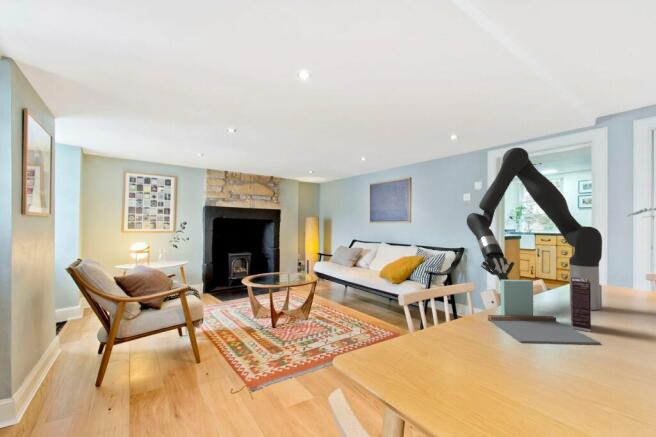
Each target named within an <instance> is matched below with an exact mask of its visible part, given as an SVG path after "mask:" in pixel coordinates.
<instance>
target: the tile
mask: <svg viewBox="0 0 656 437" xmlns="http://www.w3.org/2000/svg"><path fill="white" fill-rule="evenodd" d="M499 282H500V315H522V316H534V281H533V280H530V279H509V280H499Z"/></svg>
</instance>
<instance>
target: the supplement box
mask: <svg viewBox="0 0 656 437" xmlns="http://www.w3.org/2000/svg"><path fill="white" fill-rule="evenodd" d="M591 313H592V310H591V283H590V282H589V280H588V279H586V278H575V277H571V305H570V324H571V329H573V330H576V331H583V332H589V333H590V332H592V330H591V329H592V323H591V322H592V319H591V318H592V317H591V316H592V314H591Z"/></svg>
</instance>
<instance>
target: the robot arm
mask: <svg viewBox="0 0 656 437" xmlns="http://www.w3.org/2000/svg"><path fill="white" fill-rule="evenodd" d="M529 156H530V155H529V153H528V152H527V150H525V148H522V147H512V148H510V149H507V150H506V152H504V154H503V156H502V163H501V166H500V169H499V171H498V173H497V175H496V177H495V178H494V180H493V181H492V183H491V185H490V186H489V187H488V189H487V191H486V192H485V194H484V195H483V197H482V199H481V200H480V203H479V204H478V207H479V208H480V210H482V211H483V214H480V213H476V212H472V213H469V214H468V215H467V217H466V225H467V227H468V229H469V230H470V232H471V233H472V234H473V235H474V236H475V237H476V240H477V242H478V246H479V249H480V252H481V254H482V257H483V259H484V261H482V263H481V264H480V267H481V268H482V269H484V270H485V271H486V272H488V273H489V274H490V275H492V276H496V277H497V278H498V280H499V281H500V280H510V279H509V277H508V276H509V274H510V273H511V271H512V270H513V267H514V266H515V262H514V261H511V262H510V261H508V259H507V258H506V257H505V255H504V254H505V253H504V251H503V250H502V248H501V247H502V246H500V243H499V241H498V239H496V236H495V235H494V232H493V230H492V229H491V228H490V227H491V226H492V223H493V220H494V219H493V218H494V215H495V213H496V210H497V208H498V206H499V204H500V202H501V201H502V199H503V198H504V195H505V194H506V192H507V190H508V188H509V186H510V185H511V183H512V181H514V179H515V178H516V177H517V178H518V179H519V181H520V182H521V183H522V185H523V186H524V188H525V190H526V192H527V193H528V194H529V196H530V197H531V198H532V200H533V201H534V202H535V203H536V205H537V206H539V208H540V209H541V210H542V212H543V213H544V214H545V215H546V216H547V217H548V218H549V220H551V222H552V223H553V224H554V225H555V226H556V228H557V230H558V232H560V234H561V235H562V237H563V238H564V240H565V242H566V243H567V244H568V245H569V246H570V247H571V246H572V247H573V248H574V252H573V255H572V256H571V257H569V258H568V259H569V262H568V264H569V265H568V266H569V270H568V271H569V305H570V306H571V277H575V278H586V279H588V280H589V282H590V283H591V311H599V310H600V309H603V304H602V303H603V301H602V300H603V298H602V295H603V294H602V292H603V291H602V290H603V289H602V287H603V286H602V285H601V283H600V262H601V260H602V254H603V237H602V234H601V232H600V230H598V229H597V228H596V227H593V226H583V225H581V224H580V223H579V222H578V221H577V219H576V218H574V216H573V215H572V213H571V211H570V209H569V206H568V203H567V200H566V198H565V196H564V195H563V194H562V193H561V190H559V189H558V188H557V186H556V185H555V184H554V183H553V182H552V181H551V180H550V179H548V178H547V177H546V176H545V175H544V174H542V173H541V172H540V171H539V170H538V169H537V168H536V167H535V165H534V164H533V163H532V161H531V159H529ZM506 267H507V269H506Z"/></svg>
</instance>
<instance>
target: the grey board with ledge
mask: <svg viewBox="0 0 656 437" xmlns="http://www.w3.org/2000/svg"><path fill="white" fill-rule="evenodd" d="M487 320H488V321H489V322H490V321H491V322H490V323H492V324H493V323H494V324H493V325H495V326H496V327H498V328H499V329H501V330H502V331H503V332H505V333H506V334H508V335H509V336H510V337H512V338H513V339H515V340H516V341H518V342H519V343H521V344H553V345H554V344H555V345H557V344H558V345H559V344H561V345H563V344H565V345H596V346H597V345H602V343H601V341H598V340H596V339H594V338H592V337H591V336H588V335H586V334H584V333H581V332H580V331H579V330H577V329H573V328H572V327H570V326H567V325H565V324H563V323H561V322H558V321H557V317H555V316H554V315H533V316H522V315H501V314H488V315H487Z"/></svg>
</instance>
